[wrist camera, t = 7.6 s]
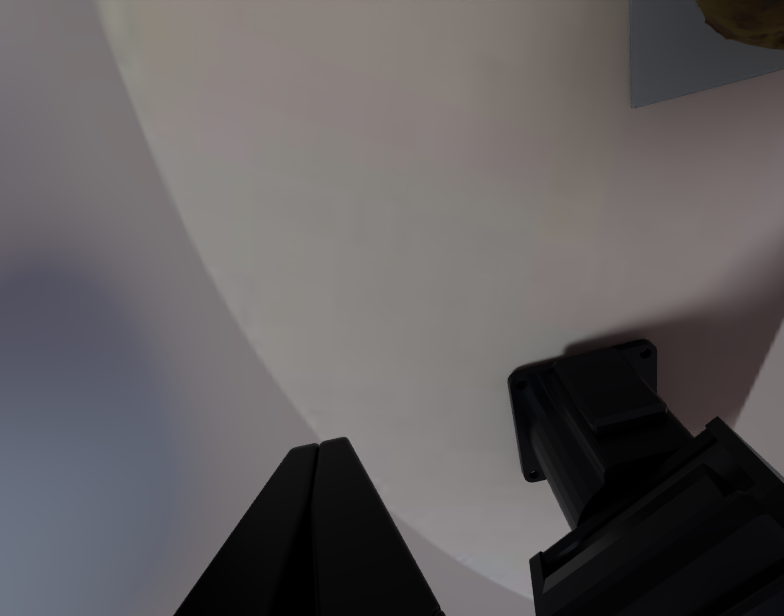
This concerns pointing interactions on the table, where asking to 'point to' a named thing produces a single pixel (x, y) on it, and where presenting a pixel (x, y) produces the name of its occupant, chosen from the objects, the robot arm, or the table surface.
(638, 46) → the mat
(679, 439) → the robot arm
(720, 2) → the potato
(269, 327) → the table surface
